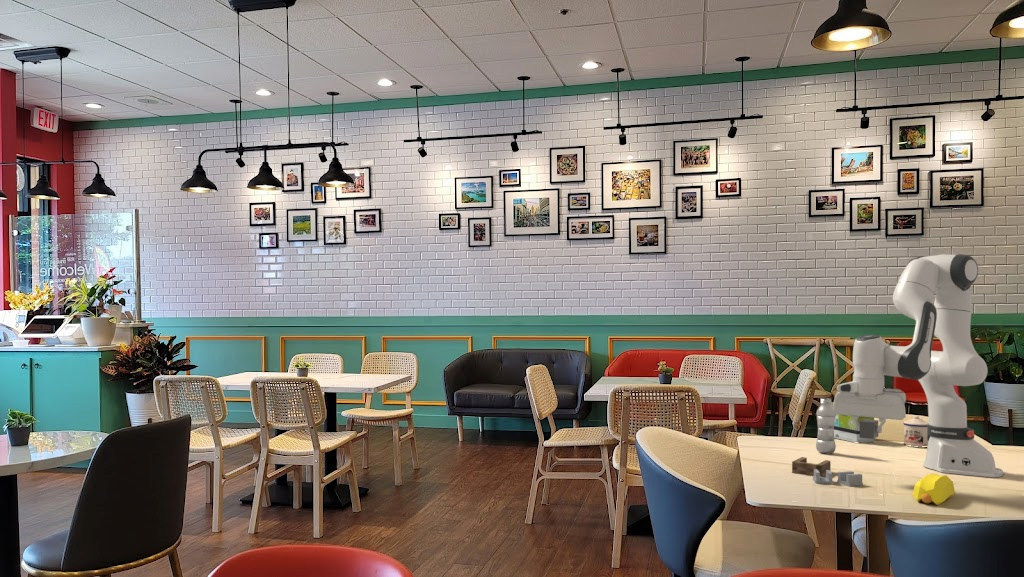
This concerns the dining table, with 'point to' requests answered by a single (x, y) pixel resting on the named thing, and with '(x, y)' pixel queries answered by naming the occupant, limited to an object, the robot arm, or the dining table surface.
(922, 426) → the teacup with lid
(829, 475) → the clip
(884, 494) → the dining table surface
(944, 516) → the dining table surface
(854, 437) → the tea box
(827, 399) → the open metal bottle
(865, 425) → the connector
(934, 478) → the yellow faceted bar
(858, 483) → the clip
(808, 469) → the holder
